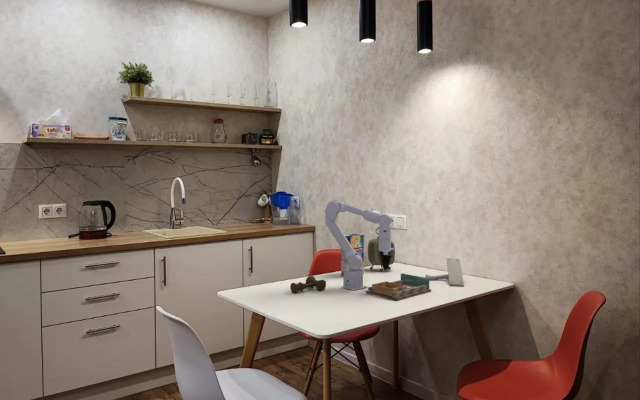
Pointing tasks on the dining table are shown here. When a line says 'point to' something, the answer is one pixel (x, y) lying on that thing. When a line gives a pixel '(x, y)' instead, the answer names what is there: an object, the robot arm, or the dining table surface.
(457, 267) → the door handle
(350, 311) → the dining table surface
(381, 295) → the bay
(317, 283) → the brown knobbed bar
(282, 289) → the dining table surface
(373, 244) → the tabletop clock
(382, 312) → the dining table surface
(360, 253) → the beverage box
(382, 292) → the box
